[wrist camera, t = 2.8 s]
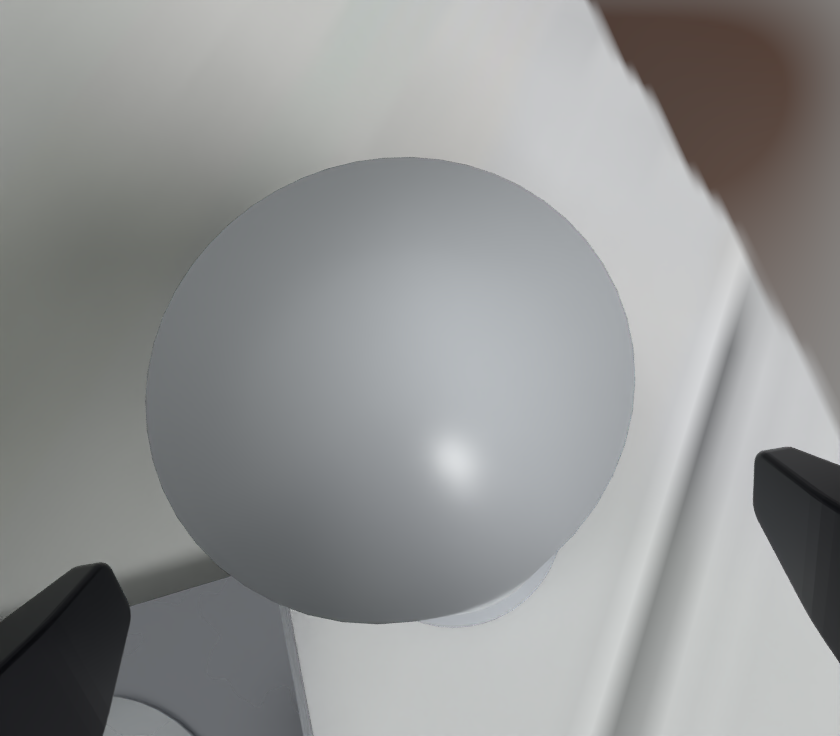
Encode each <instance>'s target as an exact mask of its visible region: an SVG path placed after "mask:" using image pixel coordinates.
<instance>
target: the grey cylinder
mask: <svg viewBox="0 0 840 736" xmlns="http://www.w3.org/2000/svg"><path fill="white" fill-rule="evenodd" d="M634 388H635V368H634V351H633V344H632V339H631V334H630V330H629V325H628V320H627V316H626V313H625V311H624V308H623V305H622V302H621V300H620V297H619V294H618V291H617V289H616V287H615V285H614V283H613V281H612V279H611V277H610V276H609V274H608V272H607V270H606V268H605V266H604V264H603V263H602V261H601V260H600V258H599V257H598V256H597V254H596V253H595V251H594V250H593V249H592V247H591V246H590V244H589V243H588V242H587V240H586V239H585V238H584V237H583V236H582V235H581V234H580V233H579V232H578V231H577V230H576V228H575V227H574V226H573V225H572V224H571V223H570V222H569V221H568V220H567V219H566V218H565V217H564V216H562V215H561V214H560V213H559V212H557V211H556V210H555V209H554V208H553V207H551V206H550V205H549V204H548V203H546V202H545V201H544V200H542V199H541V198H539V197H537V196H536V195H534V194H533V193H531V192H529V191H528V190H526V189H525V188H523V187H521V186H520V185H518V184H515V183H513V182H511V181H509V180H507V179H505V178H502V177H500V176H498V175H496V174H493V173H490V172H487V171H484V170H481V169H478V168H475V167H472V166H469V165H465V164H460V163H455V162H450V161H445V160H439V159H427V158H415V157H401V158H380V159H372V160H365V161H358V162H353V163H349V164H345V165H341V166H337V167H333V168H329V169H326V170H323V171H320V172H317V173H315V174H312V175H309V176H306V177H304V178H301V179H299V180H297V181H295V182H293V183H291V184H289V185H287V186H285V187H283V188H281V189H279V190H277V191H275V192H273V193H272V194H270V195H269V196H267V197H265V198H264V199H262V200H261V201H259V202H257V203H256V204H254V205H253V206H251V207H250V208H249V209H248V210H246V211H245V212H244V213H242V214H241V215H240V216H239V217H237V218H236V219H235V220H234V221H232V222H231V223H230V224H229V225H228V226H227V227H226V228H225V229H224V230H223V231H222V232H221V233H220V234H219V235H218V236H217V237H216V238H215V239H214V240H213V241H212V242H211V243H210V244H209V245H208V246H207V247H206V248H205V250H204V251H203V252H202V253H201V255H200V256H199V257H198V258H197V259H196V261H195V262H194V263H193V264H192V266H191V267H190V269H189V270H188V272H187V273H186V275H185V277H184V278H183V280H182V281H181V283H180V284H179V286H178V287H177V289H176V291H175V293H174V295H173V297H172V299H171V301H170V303H169V305H168V307H167V309H166V311H165V313H164V316H163V318H162V321H161V324H160V327H159V330H158V333H157V336H156V339H155V341H154V345H153V350H152V354H151V359H150V364H149V369H148V376H147V389H146V401H145V402H146V420H147V433H148V438H149V443H150V449H151V454H152V459H153V463H154V465H155V468H156V471H157V474H158V477H159V480H160V483H161V486H162V489H163V491H164V493H165V495H166V497H167V499H168V500H169V502H170V504H171V506H172V508H173V510H174V512H175V514H176V516H177V518H178V519H179V520H180V522H181V523H182V525H183V526H184V527H185V529H186V530H187V532H188V533H189V534H190V536H191V537H192V538H193V540H194V541H195V543H196V544H197V545H198V546H199V547H200V548H201V549H202V550H203V551H204V552H205V553H206V554H207V555H208V556H209V557H210V558H211V559H212V560H213V561H214V562H215V563H216V564H217V565H218V566H219V567H220V568H221V569H223V570H224V571H225V572H227V573H228V574H229V575H231V576H232V577H233V578H235V579H236V580H237V581H239V582H240V583H241V584H243V585H244V586H245V587H247V588H249V589H251V590H253V591H254V592H256V593H258V594H260V595H262V596H264V597H265V598H267V599H269V600H271V601H273V602H275V603H277V604H280V605H283V606H285V607H288V608H291V609H293V610H296V611H299V612H302V613H304V614H307V615H312V616H316V617H321V618H326V619H331V620H335V621H340V622H351V623H367V624H387V623H400V622H412V621H418V622H421V623H424V624H429V625H434V626H438V627H453V628H455V627H468V626H473V625H478V624H482V623H486V622H488V621H491V620H494V619H496V618H499V617H501V616H503V615H504V614H506V613H508V612H510V611H512V610H513V609H515V608H516V607H517V606H519V605H520V604H521V603H523V602H524V601H525V600H526V599H527V598H528V597H529V596H530V595H531V594H532V593H533V592H534V591H535V590H536V589H537V588H538V586H539V585H540V584H541V582H542V581H543V580H544V578H545V577H546V575H547V573H548V572H549V570H550V568H551V566H552V564H553V562H554V559H555V557H556V554H557V552H558V550H559V549H560V548H561V547H562V546H563V545H564V544H565V543H566V542H567V541H568V540H569V539H570V538H571V537H572V536H573V535H574V534H575V533H576V531H577V530H578V529H579V527H580V526H581V525H582V524H583V522H584V521H585V520H586V518H587V517H588V516H589V514H590V513H591V512H592V510H593V509H594V508H595V507H596V505H597V503H598V501H599V499H600V498H601V496H602V494H603V492H604V491H605V489H606V487H607V485H608V483H609V482H610V480H611V478H612V476H613V474H614V471H615V469H616V466H617V464H618V461H619V458H620V456H621V453H622V451H623V448H624V446H625V442H626V438H627V434H628V429H629V425H630V421H631V416H632V412H633V400H634Z"/></svg>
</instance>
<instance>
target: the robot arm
mask: <svg viewBox="0 0 840 736" xmlns="http://www.w3.org/2000/svg"><path fill="white" fill-rule="evenodd" d="M753 506H754V511H755V514H756V517H757V519H758V522H759V523H760V525H761V527H762V529H763V531H764V533H765V535H766V537H767V539H768V540H769V542H770V544H771V546H772V548H773V550H774V552H775V554H776V556H777V557H778V559H779V561H780V563H781V565H782V567H783V569H784V571H785V573H786V575H787V576H788V578H789V580H790V582H791V584H792V586H793V588H794V590H795V592H796V593H797V595H798V597H799V599H800V601H801V603H802V605H803V606H804V608H805V610H806V612H807V614H808V615H809V617H810V619H811V621H812V622H813V624H814V625H815V627H816V628H817V630H818V631H819V633H820V635H821V636H822V638H823V639H824V641H825V642H826V644H827V645H828V647H829V648H830V649H831V651H832V652H833V654H834V655H835V657H836V658H837V660H838V661H839V663H840V465H837V464H835V463H832V462H830V461H827V460H824V459H822V458H819V457H816V456H814V455H811V454H808V453H806V452H803V451H801V450H798V449H795V448H792V447H782V448H776V449H770V450H764V451H761V452H759V453H758V454H757V455H756V458H755V463H754V487H753ZM130 622H131V610H130V606H129V603H128V601H127V599H126V597H125V595H124V593H123V591H122V589H121V587H120V585H119V583H118V581H117V579H116V577H115V575H114V573H113V571H112V569H111V568H110V566H108V565H107V564H106V563H102V562H99V563H93V564H87V565H81V566H77V567H75V568H73V569H71V570H70V571H68V572H67V573H66V574H64V575H63V576H62V577H60V578H59V579H58V580H56V581H55V582H54V583H52V584H51V585H50V586H48V587H47V588H46V589H44V590H43V591H41V592H40V593H39V594H37V595H36V596H35V597H33V598H32V599H31V600H29V601H28V602H27V603H25V604H24V605H23V606H21V607H20V608H19V609H17V610H16V611H15V612H13V613H12V614H11V615H9V616H8V617H7V618H5V619H4V620H3V621H1V622H0V736H103V734H104V731H105V727H106V724H107V720H108V716H109V712H110V708H111V704H112V700H113V696H114V691H115V687H116V683H117V678H118V674H119V670H120V665H121V661H122V657H123V653H124V648H125V644H126V640H127V635H128V631H129V627H130Z"/></svg>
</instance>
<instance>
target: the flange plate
mask: <svg viewBox="0 0 840 736" xmlns="http://www.w3.org/2000/svg"><path fill="white" fill-rule="evenodd" d="M130 610H131V622H130V627H129V631H128V635H127V640H126V644H125V648H124V653H123V657H122V661H121V665H120V670H119V674H118V678H117V683H116V687H115V691H114V696H113V700H112V704H111V708H110V712H109V716H108V720H107V724H106V727H105V731H104V734H103V736H313V732H312V727H311V722H310V716H309V711H308V706H307V700H306V695H305V690H304V684H303V679H302V674H301V669H300V663H299V658H298V653H297V647H296V642H295V637H294V631H293V626H292V621H291V615H290V610H289V608H288V607H285V606H283V605H280V604H277V603H275V602H273V601H271V600H269V599H267V598H265V597H264V596H262V595H260V594H258V593H256V592H254V591H253V590H251V589H249V588H247V587H245V586H244V585H243V584H241V583H240V582H239V581H237V580H236V579H235V578H233V577H232V576H230V577H226V578H223V579H220V580H216V581H213V582H210V583H206V584H203V585H200V586H196V587H193V588H190V589H186V590H183V591H180V592H176V593H173V594H170V595H166V596H163V597H159V598H156V599H153V600H149V601H146V602H143V603H139V604H136V605H133V606H130Z"/></svg>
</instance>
